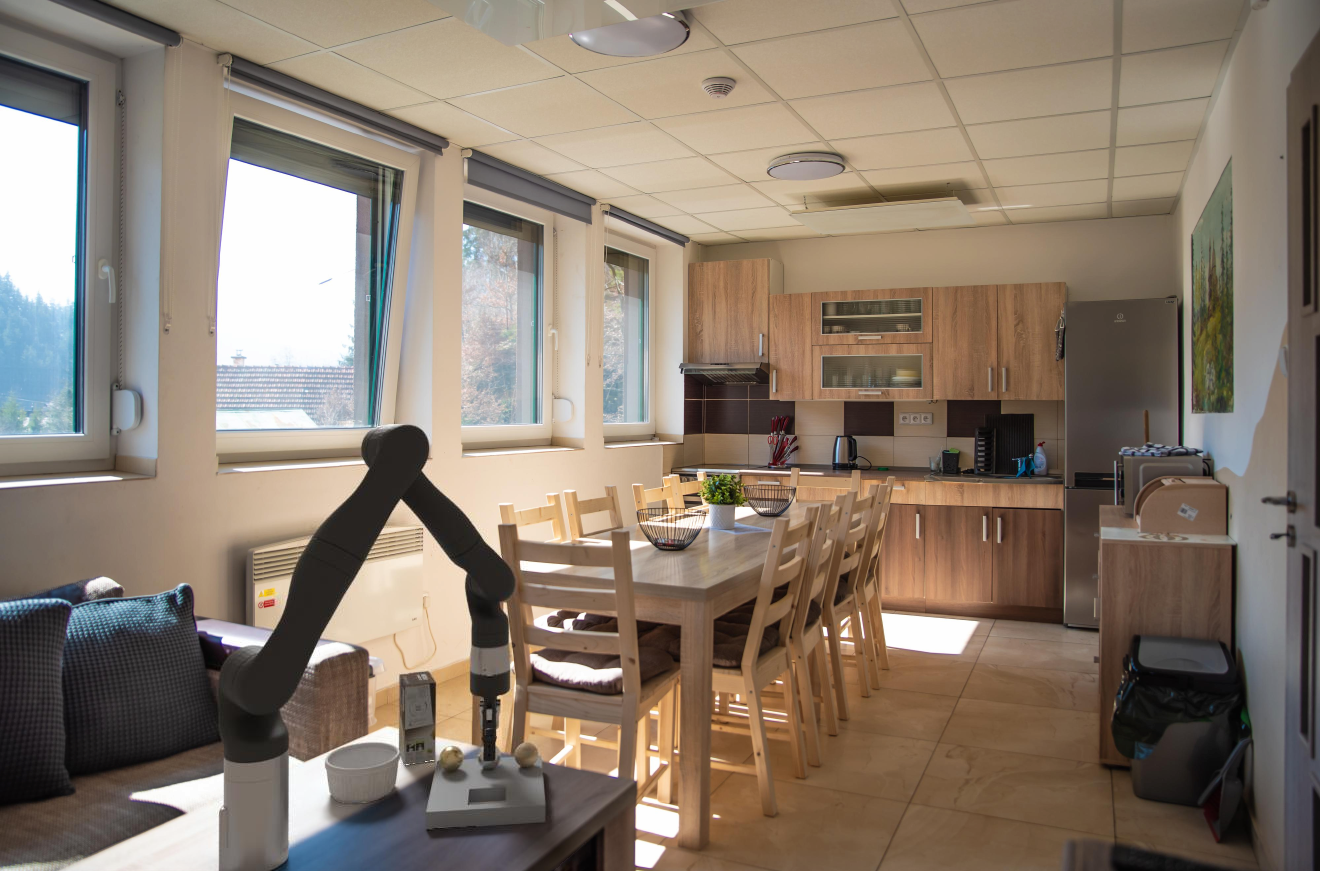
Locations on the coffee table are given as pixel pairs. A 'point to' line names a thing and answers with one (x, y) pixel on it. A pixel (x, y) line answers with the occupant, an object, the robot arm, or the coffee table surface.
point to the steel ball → (488, 763)
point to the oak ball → (526, 754)
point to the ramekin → (362, 771)
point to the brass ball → (451, 758)
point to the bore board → (486, 795)
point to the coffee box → (417, 717)
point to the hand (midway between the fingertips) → (490, 751)
